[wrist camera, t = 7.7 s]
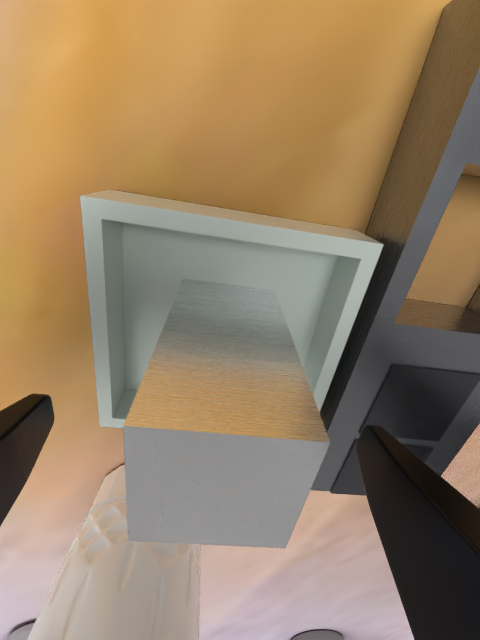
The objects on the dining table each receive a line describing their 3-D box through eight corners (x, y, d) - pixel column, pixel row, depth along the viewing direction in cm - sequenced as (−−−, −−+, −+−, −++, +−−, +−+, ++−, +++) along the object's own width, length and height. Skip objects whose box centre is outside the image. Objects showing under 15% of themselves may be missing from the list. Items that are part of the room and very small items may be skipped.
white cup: (186, 441, 18) (145, 706, 9) (223, 512, 22) (220, 751, 13) (70, 467, 19) (-71, 735, 10) (124, 531, 22) (57, 770, 14)
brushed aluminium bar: (274, 290, 13) (330, 442, 6) (258, 364, 15) (285, 547, 8) (181, 278, 13) (120, 425, 5) (176, 355, 14) (126, 541, 7)
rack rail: (633, 54, 10) (788, 12, 7) (397, 451, 19) (425, 499, 16) (445, 6, 9) (535, -62, 7) (292, 442, 18) (304, 491, 16)
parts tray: (355, 229, 12) (383, 244, 10) (296, 406, 17) (307, 443, 15) (110, 189, 11) (79, 195, 9) (118, 388, 16) (99, 426, 14)
